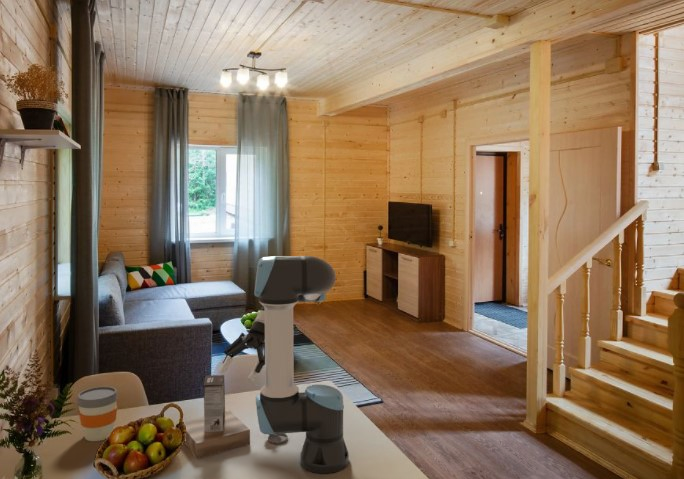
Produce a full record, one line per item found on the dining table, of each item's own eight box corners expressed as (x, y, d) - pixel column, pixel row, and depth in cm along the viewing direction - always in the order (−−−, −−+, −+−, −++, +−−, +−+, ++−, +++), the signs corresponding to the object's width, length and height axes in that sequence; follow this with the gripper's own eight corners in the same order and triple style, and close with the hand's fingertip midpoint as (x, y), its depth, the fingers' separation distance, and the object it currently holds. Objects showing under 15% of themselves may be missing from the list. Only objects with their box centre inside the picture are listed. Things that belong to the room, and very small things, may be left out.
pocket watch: (284, 445, 178) (284, 416, 177) (260, 443, 180) (259, 414, 179) (291, 434, 186) (291, 406, 185) (268, 432, 187) (268, 404, 186)
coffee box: (206, 420, 185) (205, 375, 183) (225, 419, 186) (224, 374, 184) (203, 432, 176) (202, 384, 174) (223, 431, 177) (223, 383, 175)
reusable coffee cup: (126, 432, 186) (125, 391, 185) (92, 447, 176) (90, 403, 175) (105, 423, 193) (103, 383, 192) (71, 437, 183) (69, 394, 182)
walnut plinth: (250, 443, 179) (249, 429, 178) (196, 458, 169) (196, 443, 168) (229, 423, 194) (229, 410, 193) (179, 436, 184) (179, 422, 183)
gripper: (294, 336, 196) (268, 388, 185) (242, 327, 209) (215, 375, 198) (285, 324, 191) (257, 377, 180) (233, 316, 204) (204, 365, 193)
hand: (235, 376), depth 189 cm, fingers open, 13 cm apart
